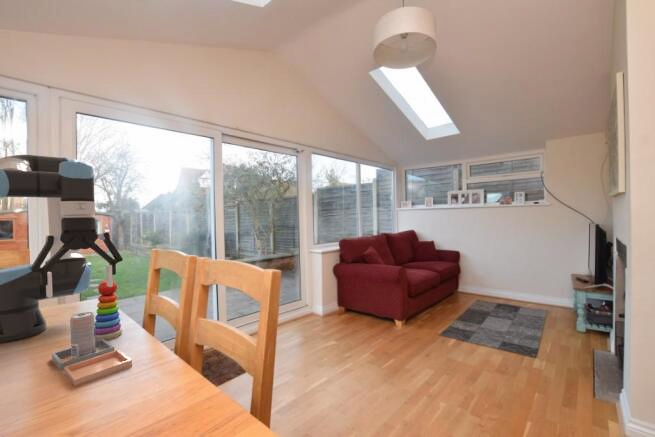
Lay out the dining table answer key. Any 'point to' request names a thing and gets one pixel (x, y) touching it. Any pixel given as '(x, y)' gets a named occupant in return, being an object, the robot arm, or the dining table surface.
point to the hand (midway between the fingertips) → (81, 291)
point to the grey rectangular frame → (66, 352)
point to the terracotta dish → (96, 367)
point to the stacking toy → (107, 313)
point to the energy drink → (82, 334)
